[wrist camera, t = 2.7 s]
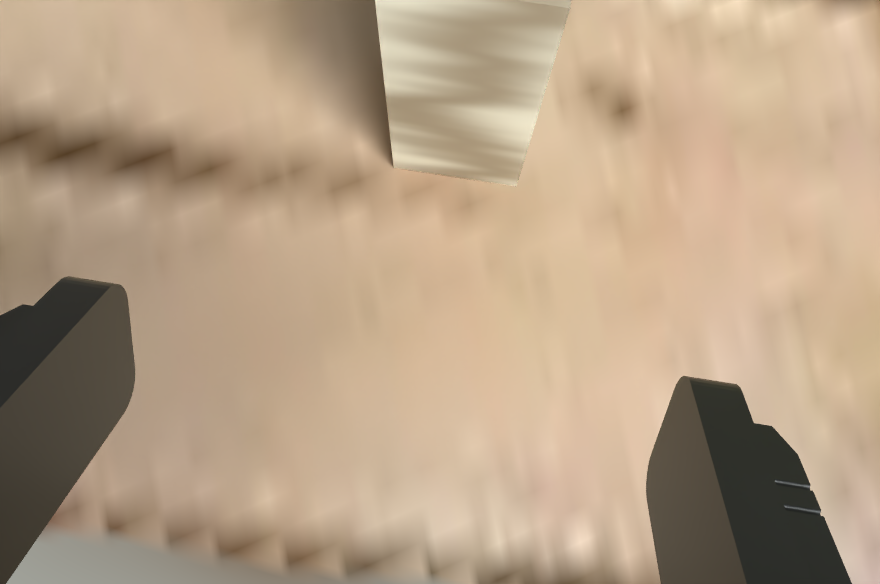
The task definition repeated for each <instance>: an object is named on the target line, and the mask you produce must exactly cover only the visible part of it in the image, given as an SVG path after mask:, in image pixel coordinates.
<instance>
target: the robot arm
mask: <svg viewBox="0 0 880 584" xmlns="http://www.w3.org/2000/svg"><path fill="white" fill-rule="evenodd" d="M134 382H135V364H134V355H133V345H132V336H131V326H130V317H129V307H128V299H127V294H126V291H125V289H124V288H123V287H122V286H121V285H119V284H113V283H106V282H100V281H94V280H88V279H81V278H75V277H64V278H62V279H61V280H60V281H59V282H58V283H56V284H55V285H54V286H53V287H52V288H51V289H50V290H49V291H48V292H47V293H46V294H45V295H44V296H43V297H42V298H41V299H40V300H39V301H38V302H37V303H36V304H35V305H34V306H30V305H21V306H19V307H17V308H15V309H13V310H11V311H9V312H6V313H4V314H2V315H0V584H6V583H7V581H8V580H9V578H10V577H11V576H12V574H13V573H14V571H15V570H16V568H17V567H18V565H19V564H20V563H21V561H22V560H23V558H24V557H25V555H26V554H27V552H28V551H29V550H30V548H31V547H32V545H33V544H34V542H35V541H36V539H37V538H38V537H39V535H40V534H41V532H42V531H43V529H44V528H45V526H46V525H47V524H48V522H49V521H50V519H51V518H52V516H53V515H54V513H55V512H56V511H57V509H58V508H59V506H60V505H61V503H62V502H63V500H64V499H65V498H66V496H67V495H68V493H69V492H70V490H71V489H72V487H73V486H74V485H75V483H76V482H77V480H78V479H79V477H80V476H81V474H82V473H83V472H84V470H85V469H86V467H87V466H88V464H89V463H90V461H91V460H92V459H93V457H94V456H95V454H96V453H97V451H98V450H99V448H100V447H101V446H102V444H103V443H104V441H105V440H106V438H107V437H108V435H109V434H110V432H111V431H112V430H113V428H114V427H115V425H116V424H117V422H118V421H119V419H120V418H121V417H122V415H123V414H124V412H125V410H126V408H127V406H128V404H129V402H130V399H131V396H132V392H133V388H134ZM646 495H647V503H648V509H649V515H650V521H651V527H652V533H653V539H654V545H655V551H656V557H657V563H658V569H659V575H660V580H661V584H852V583H851V581H850V578H849V576H848V573H847V571H846V569H845V566H844V564H843V561H842V559H841V557H840V554H839V552H838V550H837V547H836V545H835V542H834V540H833V538H832V535H831V533H830V530H829V528H828V526H827V523H826V521H825V518H824V517H823V516H820V512H821V509H820V507H819V504H818V502H817V499H816V497H815V495H814V492H813V491H810V483H809V480H808V478H807V475H806V473H805V471H804V468H803V466H802V464H801V461H800V459H799V456H798V454H797V453H796V452H795V451H794V450H793V449H792V448H791V447H790V446H789V444H788V443H787V442H786V441H785V440H784V439H783V438H782V437H781V436H780V435H779V433H778V432H777V431H776V430H775V429H774V428H773V427H772V426H768V425H761V424H755V423H753V420H752V417H751V414H750V412H749V409H748V406H747V404H746V401H745V398H744V395H743V393H742V390H741V388H740V387H739V386H738V385H737V384H731V383H725V382H719V381H712V380H706V379H700V378H694V377H687V376H683V377H681V378H680V379H679V381H678V383H677V384H676V387H675V389H674V392H673V395H672V398H671V400H670V403H669V406H668V409H667V412H666V414H665V417H664V420H663V423H662V426H661V428H660V431H659V434H658V437H657V440H656V442H655V445H654V448H653V451H652V454H651V457H650V461H649V465H648V471H647V481H646Z"/></svg>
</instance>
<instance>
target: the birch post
mask: <svg viewBox="0 0 880 584" xmlns="http://www.w3.org/2000/svg"><path fill="white" fill-rule="evenodd" d="M375 5H376V14H377V23H378V32H379V40H380V49H381V58H382V67H383V76H384V85H385V94H386V103H387V112H388V121H389V130H390V139H391V148H392V157H393V166H394V168H399V169H405V170H412V171H418V172H425V173H431V174H438V175H444V176H451V177H457V178H464V179H470V180H477V181H483V182H490V183H496V184H503V185H509V186H515V187H516V186H517V183H518V180H519V176H520V173H521V170H522V166H523V163H524V160H525V157H526V153H527V150H528V147H529V143H530V140H531V137H532V133H533V130H534V127H535V123H536V120H537V117H538V113H539V110H540V107H541V103H542V100H543V97H544V93H545V90H546V87H547V83H548V80H549V77H550V73H551V70H552V67H553V63H554V60H555V57H556V53H557V50H558V47H559V44H560V40H561V37H562V34H563V30H564V27H565V24H566V20H567V17H568V14H569V10H570V5H571V0H375Z"/></svg>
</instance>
